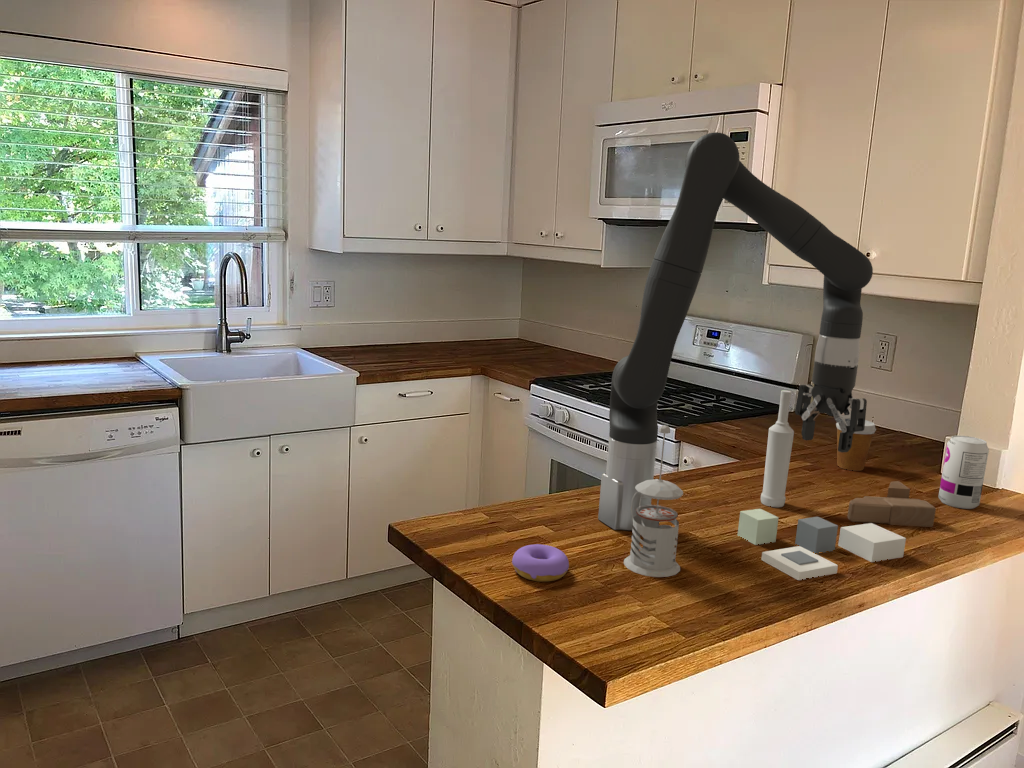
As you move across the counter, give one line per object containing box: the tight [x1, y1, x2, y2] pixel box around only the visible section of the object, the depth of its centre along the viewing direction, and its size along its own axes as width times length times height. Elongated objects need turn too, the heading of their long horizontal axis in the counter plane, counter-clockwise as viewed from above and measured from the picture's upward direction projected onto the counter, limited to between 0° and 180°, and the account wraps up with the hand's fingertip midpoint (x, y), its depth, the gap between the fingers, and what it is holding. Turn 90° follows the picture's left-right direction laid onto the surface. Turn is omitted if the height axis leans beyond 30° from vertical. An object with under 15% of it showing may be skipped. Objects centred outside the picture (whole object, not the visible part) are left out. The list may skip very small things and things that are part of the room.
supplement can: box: [937, 435, 990, 510], centre depth 186 cm, size 8×8×15 cm
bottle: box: [760, 389, 795, 508], centre depth 178 cm, size 5×5×25 cm
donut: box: [511, 543, 570, 583], centre depth 138 cm, size 10×9×5 cm
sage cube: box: [737, 508, 779, 546], centre depth 159 cm, size 5×5×5 cm
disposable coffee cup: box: [835, 419, 877, 472], centre depth 211 cm, size 10×10×12 cm
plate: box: [761, 545, 839, 581], centre depth 147 cm, size 9×9×2 cm
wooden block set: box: [846, 480, 936, 528], centre depth 179 cm, size 17×6×18 cm
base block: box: [837, 522, 907, 563], centre depth 156 cm, size 8×8×4 cm
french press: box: [623, 424, 684, 578], centre depth 142 cm, size 10×12×25 cm
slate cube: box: [794, 516, 839, 554], centre depth 156 cm, size 5×5×5 cm
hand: (825, 445), depth 155 cm, fingers open, 8 cm apart
